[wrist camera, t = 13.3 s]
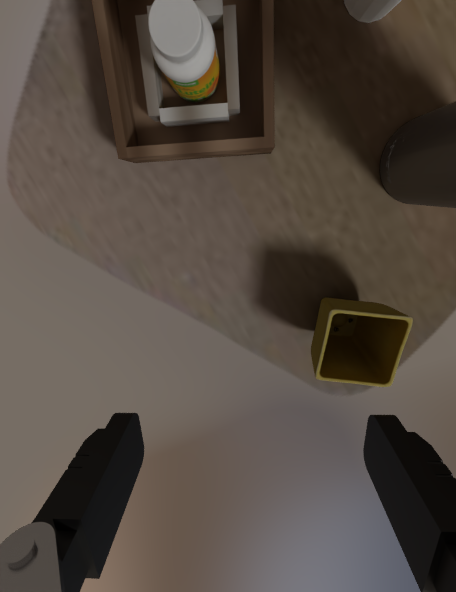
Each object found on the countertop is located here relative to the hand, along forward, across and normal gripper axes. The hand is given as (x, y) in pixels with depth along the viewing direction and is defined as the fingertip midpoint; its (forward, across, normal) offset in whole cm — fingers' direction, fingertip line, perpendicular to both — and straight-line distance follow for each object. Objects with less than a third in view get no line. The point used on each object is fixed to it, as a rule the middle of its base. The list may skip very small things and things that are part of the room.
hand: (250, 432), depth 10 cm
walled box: (+30, +5, -20) cm, 36 cm away
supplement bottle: (+29, +5, -20) cm, 35 cm away
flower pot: (+30, -12, +9) cm, 33 cm away
